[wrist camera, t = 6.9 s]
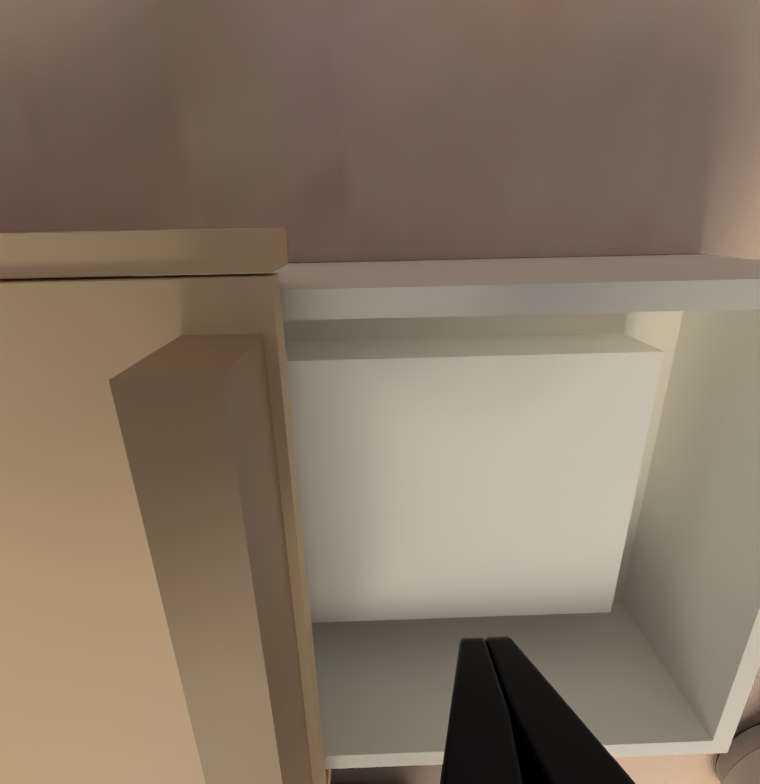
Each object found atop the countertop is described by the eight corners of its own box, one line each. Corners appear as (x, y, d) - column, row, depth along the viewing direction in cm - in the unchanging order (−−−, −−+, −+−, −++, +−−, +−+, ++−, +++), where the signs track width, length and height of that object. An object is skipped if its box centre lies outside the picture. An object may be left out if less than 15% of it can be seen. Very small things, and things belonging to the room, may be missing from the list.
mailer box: (625, 601, 16) (727, 752, 12) (234, 615, 16) (180, 774, 12) (701, 254, 12) (906, 275, 8) (174, 265, 12) (51, 295, 7)
